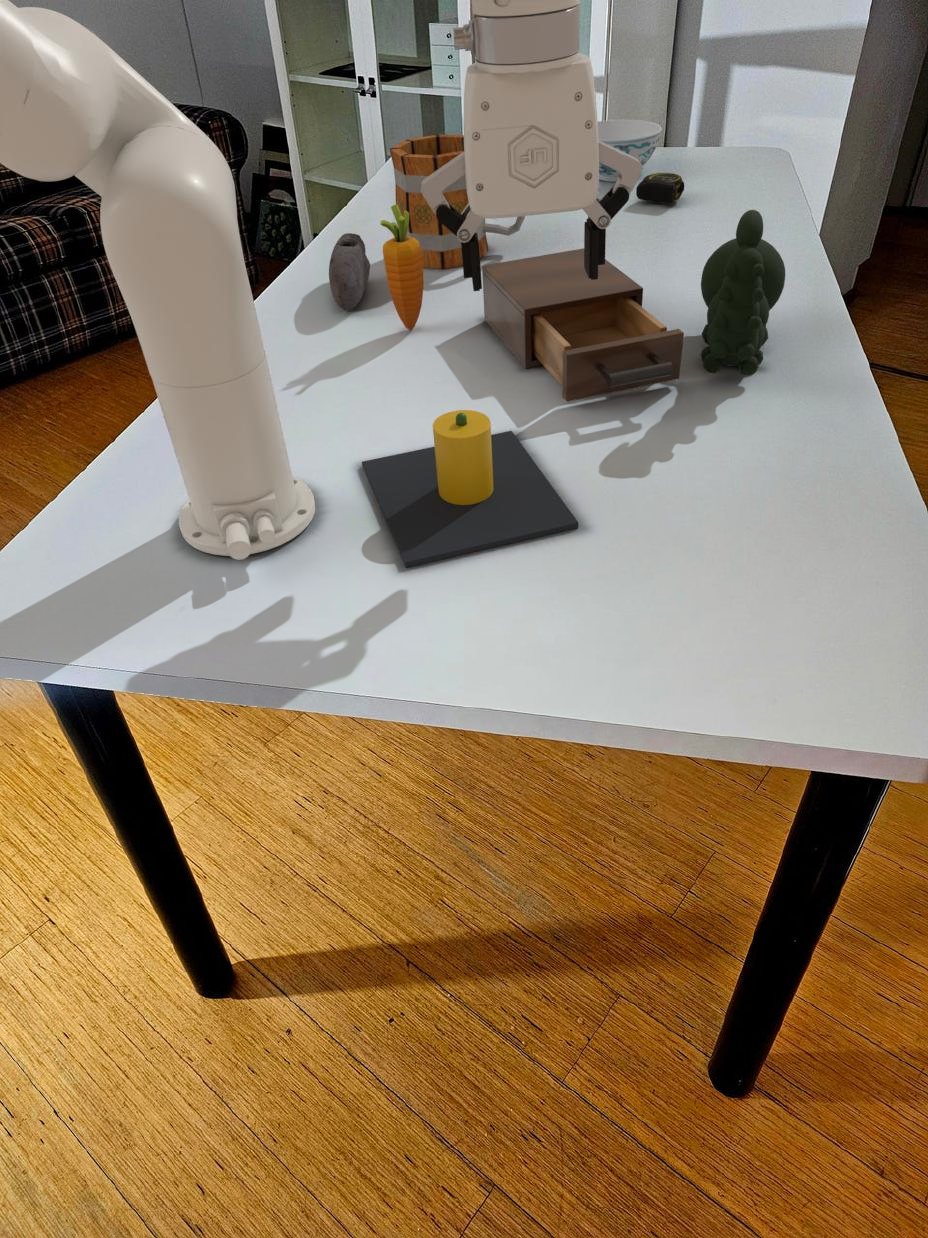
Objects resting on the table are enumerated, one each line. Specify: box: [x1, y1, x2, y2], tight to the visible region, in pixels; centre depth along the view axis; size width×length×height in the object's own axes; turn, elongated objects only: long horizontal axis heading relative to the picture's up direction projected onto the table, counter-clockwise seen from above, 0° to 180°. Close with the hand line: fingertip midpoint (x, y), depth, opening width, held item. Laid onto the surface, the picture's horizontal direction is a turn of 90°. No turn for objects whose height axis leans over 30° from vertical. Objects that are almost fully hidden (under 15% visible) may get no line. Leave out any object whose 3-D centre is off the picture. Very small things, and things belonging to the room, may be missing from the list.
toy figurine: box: [699, 209, 786, 376], centre depth 99 cm, size 9×19×25 cm
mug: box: [389, 134, 526, 270], centre depth 131 cm, size 20×14×15 cm
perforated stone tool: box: [328, 232, 371, 312], centre depth 122 cm, size 15×5×7 cm, turn 178°
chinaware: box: [597, 119, 662, 183], centre depth 159 cm, size 15×15×8 cm
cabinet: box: [481, 247, 644, 369], centre depth 109 cm, size 16×15×7 cm
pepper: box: [432, 409, 493, 505], centre depth 81 cm, size 5×5×8 cm
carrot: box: [379, 204, 425, 331], centre depth 110 cm, size 5×5×15 cm
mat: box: [361, 430, 579, 568], centre depth 84 cm, size 18×16×1 cm
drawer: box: [531, 297, 685, 402], centre depth 99 cm, size 19×13×5 cm
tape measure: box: [635, 172, 685, 205], centre depth 148 cm, size 7×7×4 cm
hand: (533, 279), depth 74 cm, fingers open, 9 cm apart
